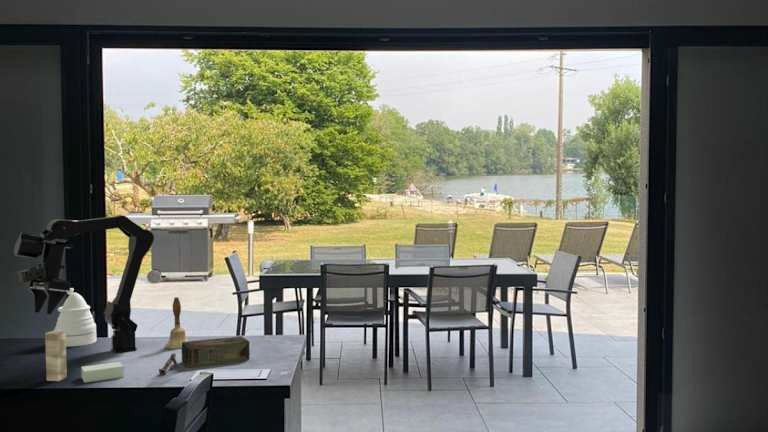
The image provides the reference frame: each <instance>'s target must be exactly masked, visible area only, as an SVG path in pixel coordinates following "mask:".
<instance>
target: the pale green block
mask: <svg viewBox="0 0 768 432" xmlns="http://www.w3.org/2000/svg"><path fill="white" fill-rule="evenodd" d="M80 371H81V379H82V381H83V383H90V382H97V381H98V382H99V381H105V380H112V379H119V378H124V377H125V375H124V365H123V364H122V363H121V362H120V361H117V362H116V361H115V362H109V363H108V362H107V363H102V364H101V363H100V364H92V365H85V366H81V370H80Z"/></svg>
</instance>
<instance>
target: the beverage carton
mask: <svg viewBox="0 0 768 432" xmlns="http://www.w3.org/2000/svg"><path fill="white" fill-rule="evenodd" d="M250 349H251V348H250V341H249V340H248V339H247V338H246V337H244V336H243V335H237V336H232V337H220V338H219V337H217V338H210V339H200V340H199V339H198V340H190V341H189V340H188V341H187V342H182V348H181V362H182V363H183V364H184V365H185V367H186V368H193V367H200V366H210V365H217V364H225V363H233V362H240V361H241V362H242V361H247V360H248V361H249V360H250V355H251V354H250Z"/></svg>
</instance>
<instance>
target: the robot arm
mask: <svg viewBox="0 0 768 432" xmlns="http://www.w3.org/2000/svg"><path fill="white" fill-rule="evenodd" d="M113 229H118V230H119V231H121V232H122V234H124V235H125V236H127V237H128V242H127V243H128V244H127V246H128V247H127V248H128V256H127V260H126V263H125V267H124V268H123V273H122V276H121V279H120V282H119V286H118V289H117V292H116V294H115V298H114V299H113V300H112V302H111V301H109V300H108V301H107V302H106V307H105V310H104V311H103V314H104V320H105V322H106V324H108V325H109V326H110V327H111V329H112V335H110V336H111V337H110V341H111V343H110V344H111V349H112V350H113V351H114V352H115V353H121V352H122V353H123V352H131V351H136V350H138V348H137V347H136V332H137V329H138V324H137V323H136V322H135V321H133V320H132V319H131V313H132V312H131V311H132V307H131V300H132V296H133V292H134V290H135V287H136V284H137V279H138V276H139V273H140V269H141V267H142V262H143V260H144V258H145V256H146V255H147V254H148V253H149V251H150V249H151V247H152V246H153V243H154V241H155V236H154V233H153V232H152V231H151V230H149V229H145V228H143V227H141V226H140V225H139V224H137V223H135V222H134V221H133V220H132V219H129V218H128V216H126V215H121V214H120V215H119V214H118V215H114V216H107V217H105V216H104V217H98V218H90V219H84V220H83V219H81V220H79V219H78V220H76V219H75V220H73V219H52V220H50V221H49V222H48V223H47V225H46V228H45V229H44V230H43V231H42V232H40V234H38V235H32V234H28V233H24V232H20V233H19V237H18V238H17V240H16V242H15V244H14V248H13V249H14V251H13V252H14V253H13V254H14V256H15V257H23V258H31V259H37V258H38V257H41V256H42V258H41V262H38V263H37V266H31V267H30V266H29V267H27V269H24V270H23V269H22V270H18V271H17V275H18V276H17V277H18V282H19V283H21V282H22V283H25V287H26V288H27V289H26V290H28V291H29V292H30V293H31V294H32V300H33V309H34V313H37V314H38V313H39V312H40V311H41V310H42V309H43V308H42V307H43V306H44V304H45V302H46V315H52V313H53V312H54V310H55V309H56V307H57V306H58V304H59V303H60V302H61V301H62V299H63V298H64V297H65V295H66V294H67V292H66V291H70V288H71V282H70V281H69V280H63V279H60V278H61V274H62V270H65V265H63V262H64V257H65V253H66V249H72V248H74V245H73V244H72V243H71V241H70V240H69V239H68V238H71V237H75V236H77V235H80V234H82V233H90V232H99V231H104V230H105V231H106V230H113ZM56 239H58V240H56ZM61 240H64V241H61ZM46 241H47V242H46ZM48 241H49V242H48ZM67 295H68V294H67Z"/></svg>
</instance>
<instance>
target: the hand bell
mask: <svg viewBox="0 0 768 432" xmlns="http://www.w3.org/2000/svg"><path fill="white" fill-rule="evenodd" d="M181 311H182V305H181V302H180V298H179V296H177V297H174V298H173V302H172V312H173V315H174V327H173V328H172V329H171V330H170V335H169V338H168V341H167V343H166V344H165V346H164V348H165V347H166V349H168V348H169V350H179V349H182V342H187V341H189V340H188V338H187V335H186V330H185V329H184V328H182V327H181V319H180V315H181ZM170 348H171V349H170Z"/></svg>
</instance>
